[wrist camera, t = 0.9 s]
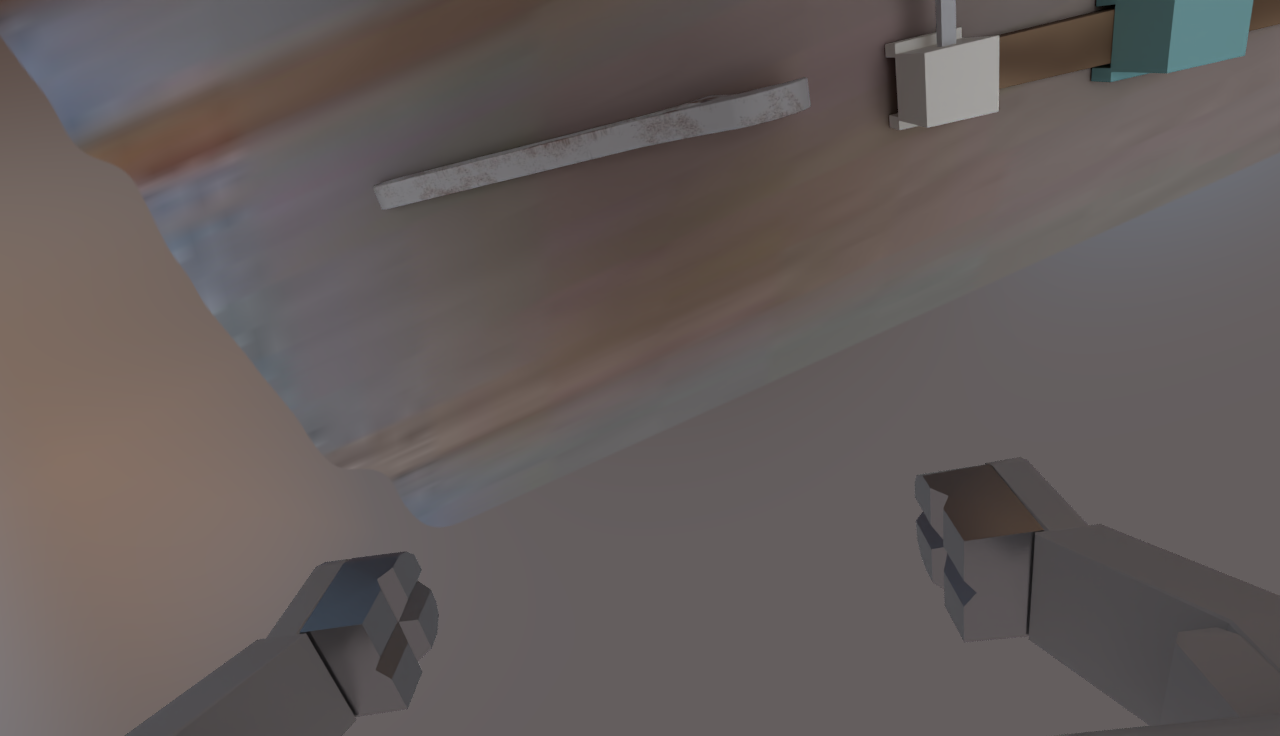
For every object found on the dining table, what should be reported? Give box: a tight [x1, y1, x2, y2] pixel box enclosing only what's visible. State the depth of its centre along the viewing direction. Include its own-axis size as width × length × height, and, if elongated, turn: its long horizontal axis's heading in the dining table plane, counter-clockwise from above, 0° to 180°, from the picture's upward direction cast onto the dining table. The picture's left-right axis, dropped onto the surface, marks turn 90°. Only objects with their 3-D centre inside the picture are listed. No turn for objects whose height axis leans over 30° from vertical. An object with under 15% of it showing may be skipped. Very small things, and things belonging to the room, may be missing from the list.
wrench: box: [373, 77, 811, 210], centre depth 43 cm, size 8×2×30 cm
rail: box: [999, 0, 1280, 89], centre depth 41 cm, size 3×24×2 cm, turn 103°
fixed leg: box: [885, 0, 999, 130], centre depth 39 cm, size 10×4×7 cm, turn 13°
